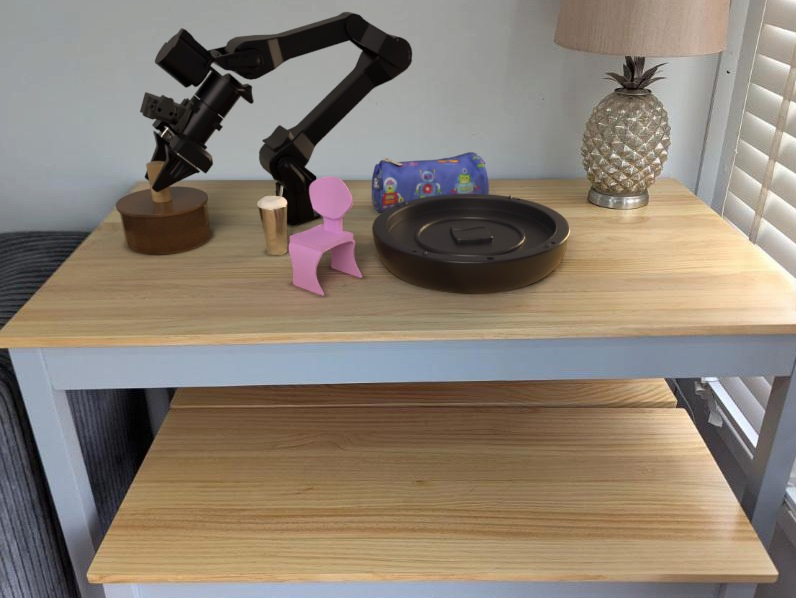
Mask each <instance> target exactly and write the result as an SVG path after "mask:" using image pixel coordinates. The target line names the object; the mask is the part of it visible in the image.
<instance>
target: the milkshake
mask: <svg viewBox="0 0 796 598" xmlns="http://www.w3.org/2000/svg"><path fill="white" fill-rule="evenodd" d="M282 191H283V186H282V185H281V186H280V194H279V196H276V195H265V196H263V197H261V198H260V199H259V200H258V201H257V209H258V213H259V217H260V222H261V225H262V231H263V236H264V241H265V247H266V251H267V254H269V255H270V256H281V255H285V254H286V253H288V224H287V201H286V199H285V198H283V197H282Z"/></svg>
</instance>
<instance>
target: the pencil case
mask: <svg viewBox="0 0 796 598" xmlns="http://www.w3.org/2000/svg"><path fill="white" fill-rule="evenodd" d="M447 194H490V181H489V174H488V170H487V167H486V162H485V160H484V158H482V156H480V155H478V154H477V153H476V152H474V151H469V152H465V153H462V154H458V155H454V156H450V157H443V158H438V159H425V160H423V159H422V160H409V161H396V160H392V159H391V160H390V158H387V157H384V158H383V159H382V160H379V162H378V163H376V164H375V165H374V169H373V172H372V178H371V201H372V205H373V209H374V210H375V211H377V212H378V213H382V212H384V211H385V210H387V209H389V208H391V207H393V206H395V205H398V204H400V203H403V202H407V201H410V200H414V199H418V198H423V197H429V196H437V195H447Z"/></svg>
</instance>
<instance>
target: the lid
mask: <svg viewBox="0 0 796 598" xmlns="http://www.w3.org/2000/svg"><path fill="white" fill-rule="evenodd" d="M164 163H165V162H164V161H153V162H150V161H149V162H146V164H145V166H146V167H145V168H146V171H147V172H148V178H149V181H148V182H149V188H146V189H142V190H137V191H134V192H132V193H128V194H127V195H124V196H122V197H121V198H119V199H118V200H117V201H116V202H115V209H116V210H117V212H118V213H119V214H120V213H121V214H124V215H127V216H132V217H140V218H156V217H167V216H174V215H179V214H183V213H187V212H190V211H193V210H196V209H198V208H200V207H202V206H203V205H205V204H206V203H207V204H208V201H209V196H208V194H207V192H206V191H205V190H203V189H200V188H196V187H190V186H179V185H178V186H176V185H175V186H173V185H172V186H169V187H167V188H165V189H163V190H161V191H159V192H156V191H154V190H153V189H152V186H153V184H154V182H155V180H156V178H157V176H158V174H159V172H160V170H161V168H162V166H163V165H164Z"/></svg>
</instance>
